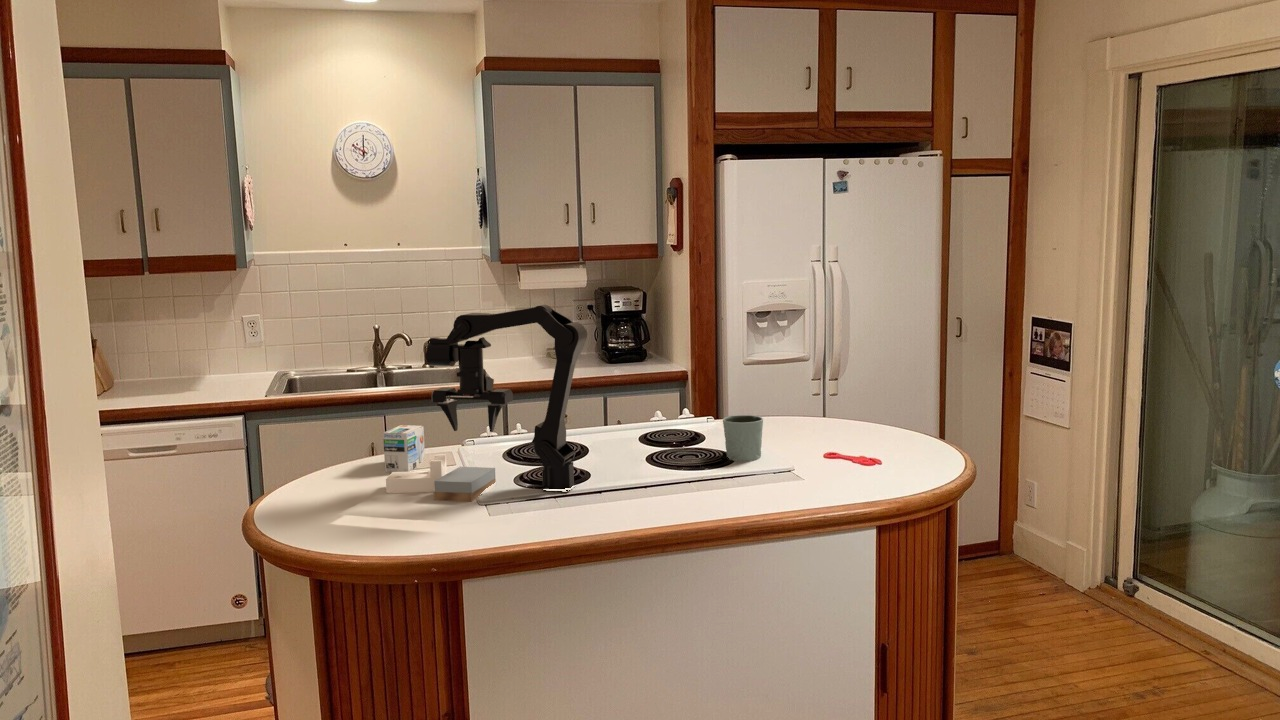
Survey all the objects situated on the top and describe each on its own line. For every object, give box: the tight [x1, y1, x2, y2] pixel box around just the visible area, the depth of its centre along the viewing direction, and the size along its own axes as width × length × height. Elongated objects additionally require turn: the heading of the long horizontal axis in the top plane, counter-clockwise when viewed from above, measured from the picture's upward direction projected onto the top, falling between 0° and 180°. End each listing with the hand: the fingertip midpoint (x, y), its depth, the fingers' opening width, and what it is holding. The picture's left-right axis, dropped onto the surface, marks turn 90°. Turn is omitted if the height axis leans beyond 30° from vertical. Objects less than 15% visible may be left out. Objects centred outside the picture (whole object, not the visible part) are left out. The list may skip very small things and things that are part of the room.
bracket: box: [385, 453, 448, 494], centre depth 232 cm, size 13×7×8 cm, turn 92°
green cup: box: [722, 414, 764, 463], centre depth 249 cm, size 10×10×12 cm
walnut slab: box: [433, 477, 497, 503], centre depth 227 cm, size 9×14×2 cm, turn 165°
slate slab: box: [434, 466, 496, 493], centre depth 227 cm, size 9×14×2 cm, turn 166°
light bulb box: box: [382, 424, 426, 473], centre depth 251 cm, size 11×7×11 cm, turn 168°
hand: (473, 431), depth 233 cm, fingers open, 9 cm apart
